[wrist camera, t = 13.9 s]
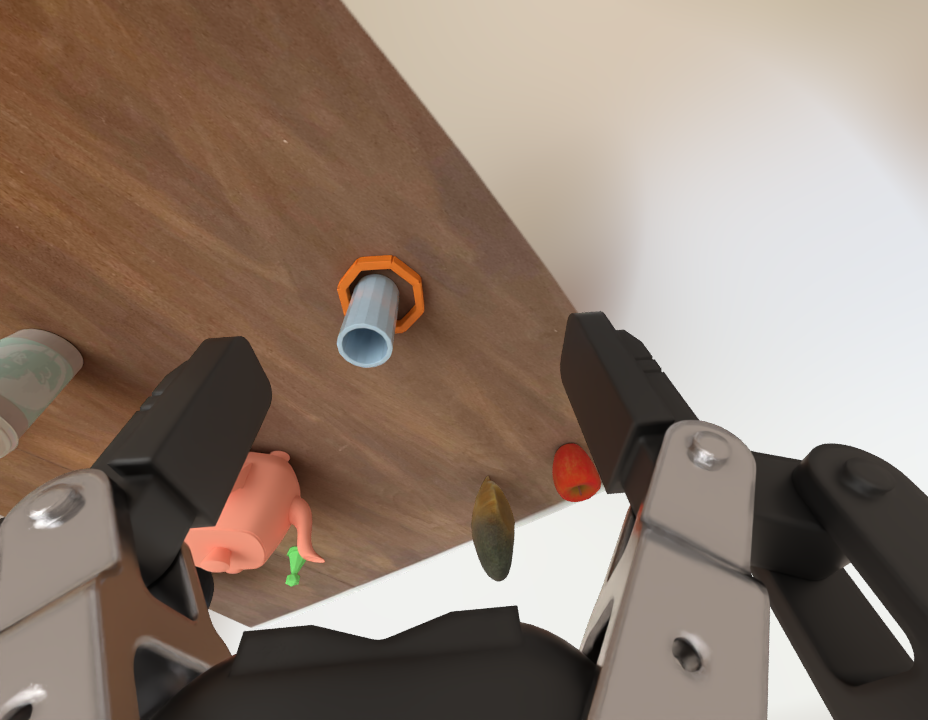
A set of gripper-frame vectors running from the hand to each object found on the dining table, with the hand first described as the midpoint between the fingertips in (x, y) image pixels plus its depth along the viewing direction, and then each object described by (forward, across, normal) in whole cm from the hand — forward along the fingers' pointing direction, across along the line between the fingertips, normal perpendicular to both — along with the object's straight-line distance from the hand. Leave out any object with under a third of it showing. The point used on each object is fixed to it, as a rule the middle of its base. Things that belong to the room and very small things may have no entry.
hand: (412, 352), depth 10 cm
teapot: (+25, +27, +38) cm, 53 cm away
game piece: (+25, +30, +64) cm, 75 cm away
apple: (+25, -17, +40) cm, 51 cm away
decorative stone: (+25, -5, +46) cm, 52 cm away
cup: (+26, +6, +12) cm, 29 cm away
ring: (+26, +6, +12) cm, 29 cm away
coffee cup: (+26, +41, +17) cm, 51 cm away
